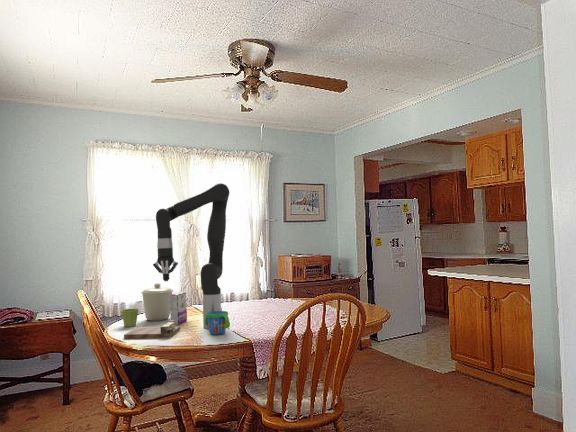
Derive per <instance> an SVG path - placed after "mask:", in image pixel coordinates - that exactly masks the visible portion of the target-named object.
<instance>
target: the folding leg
mask: <svg viewBox="0 0 576 432" xmlns="http://www.w3.org/2000/svg"><path fill="white" fill-rule="evenodd" d="M160 327H161V334H167V333H168V330H169V329H170V328H173V329H174V328H175V327H176V325H175V320H171V319H170V320H169V321H168V322H166V323H165V324H164V325H162V326H160Z"/></svg>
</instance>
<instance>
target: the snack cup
mask: <svg viewBox="0 0 576 432" xmlns="http://www.w3.org/2000/svg"><path fill="white" fill-rule="evenodd" d="M205 324H206V325H208V327H209V329H208V331H209V334H210V335H211V336H219V335H224V334H225V333H226V332H227V331H226V330H227V329H230V327H231V323H230V319H229V311H227V310H226V311H225V310H222V311H213V312H208V313H206V320H205Z"/></svg>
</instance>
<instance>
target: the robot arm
mask: <svg viewBox="0 0 576 432" xmlns="http://www.w3.org/2000/svg"><path fill="white" fill-rule="evenodd" d="M229 196H230V189H229V187H228V186H227V184H225V183H222V182H219V183H216V184H214V185H213V186H211V187H210V188H209V189H206V190H205V191H203V192H201V193H199V194H196V195H194V196H190V197H188V198H186V199H183V200H181V201H179V202H176V203H174V204H173V205H172V206H169V207H167V208H159V209H158V210H157V211H156V214H155V222H156V229H157V242H156V243H157V244H156V245H157V246H156V247H157V260H156V262H154V263H153V264H152V266H153V267H154V268H155V269H156V271H157V272H158V273H159V274H162V279H163V281H164V282H169V280H170V274H171V273H173V272H174V271H175V269H176V268H177V266H178V265H179V262H178V261H176V260H175V259H174V249H173V248H174V247H173V236H172V235H173V234H172V232H173V231H172V227H171V221H174V220H176V219H177V218H179V217H181V216H184V215H187V214H189V213H191V212H193V211H195V210H197V209H199V208H201V207H204V206H206V205H208V204H210V203H212V205H211V206H212V207H211V212H210V216H209V221H208V224H207V225H208V226H207V234H206V238H207V239H206V240H207V244H208V248H209V249H208V250H209V258H208V263H206V264H203V266H202V267H201V269H200V287H201V291H202V317H203V319H202V321H203V322H202V323H203V329H208V330H209V327H208V325H206V324H205V320H206V313H208V312H213V311H223V307H222V299H221V297H222V295H221V293H222V292H221V291H222V289H221V288H220V286H219V283H218V282H219V281H218V280H219V279H220V278H221V276H223V275H222V274H223V269H224V267H223V263H224V262H223V256H224V255H223V254H224V253H223V252H224V246H225V239H226V238H225V237H226V231H227V230H226V229H227V215H226V213H227V206H228V202H229Z"/></svg>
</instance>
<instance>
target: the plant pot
mask: <svg viewBox="0 0 576 432" xmlns="http://www.w3.org/2000/svg"><path fill="white" fill-rule="evenodd" d="M139 310H140V309H139V308H126V309H121V310H120V312H121V315H122V316H121V317H122V321H123V326H124V327H125V328H126V327H127V328H130V327H134V326H135V327H136V325H137V322H138V321H137V319H138V315H139Z"/></svg>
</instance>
